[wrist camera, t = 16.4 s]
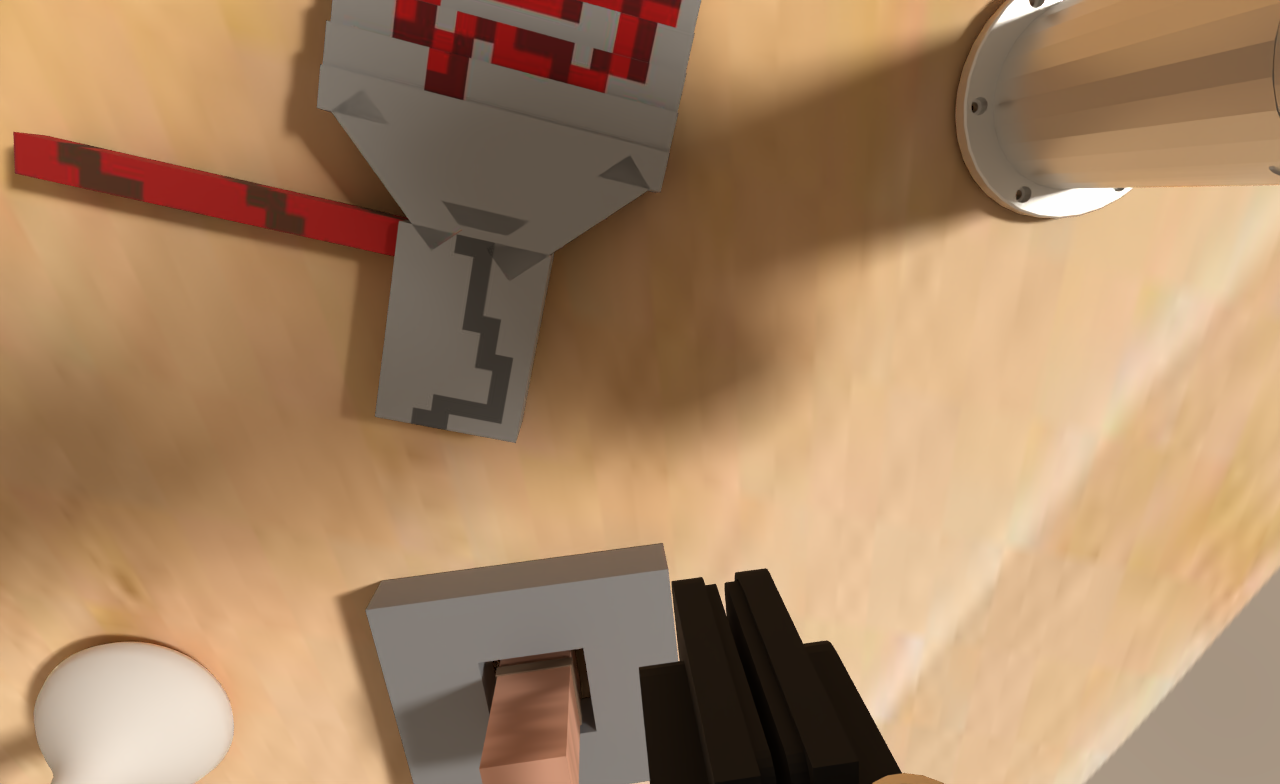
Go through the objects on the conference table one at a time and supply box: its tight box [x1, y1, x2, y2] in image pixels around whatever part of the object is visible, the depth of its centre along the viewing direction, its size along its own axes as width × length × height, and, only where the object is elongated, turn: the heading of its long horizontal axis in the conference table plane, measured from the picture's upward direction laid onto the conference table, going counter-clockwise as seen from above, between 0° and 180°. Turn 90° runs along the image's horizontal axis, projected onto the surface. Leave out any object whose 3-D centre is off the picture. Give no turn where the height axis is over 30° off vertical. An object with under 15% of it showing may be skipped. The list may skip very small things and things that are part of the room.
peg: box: [479, 649, 582, 784], centre depth 38 cm, size 5×5×10 cm
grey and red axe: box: [13, 0, 701, 443], centre depth 32 cm, size 24×4×30 cm
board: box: [366, 543, 678, 784], centre depth 42 cm, size 18×16×3 cm
